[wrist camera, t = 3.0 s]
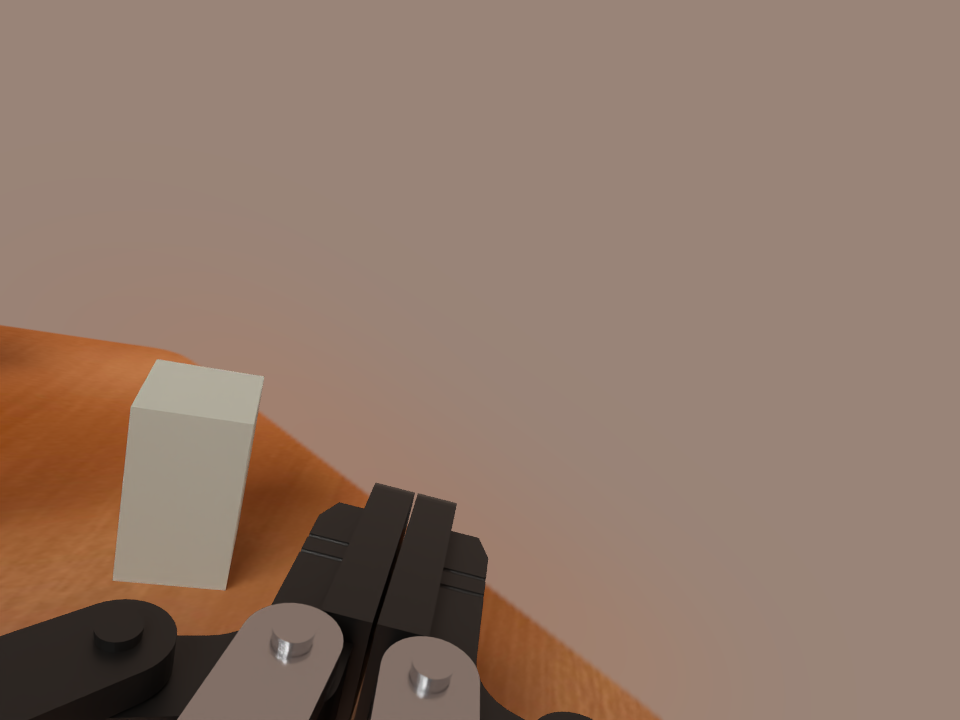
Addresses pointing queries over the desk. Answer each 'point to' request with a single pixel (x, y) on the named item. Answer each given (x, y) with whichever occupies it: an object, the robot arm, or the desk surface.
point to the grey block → (185, 475)
